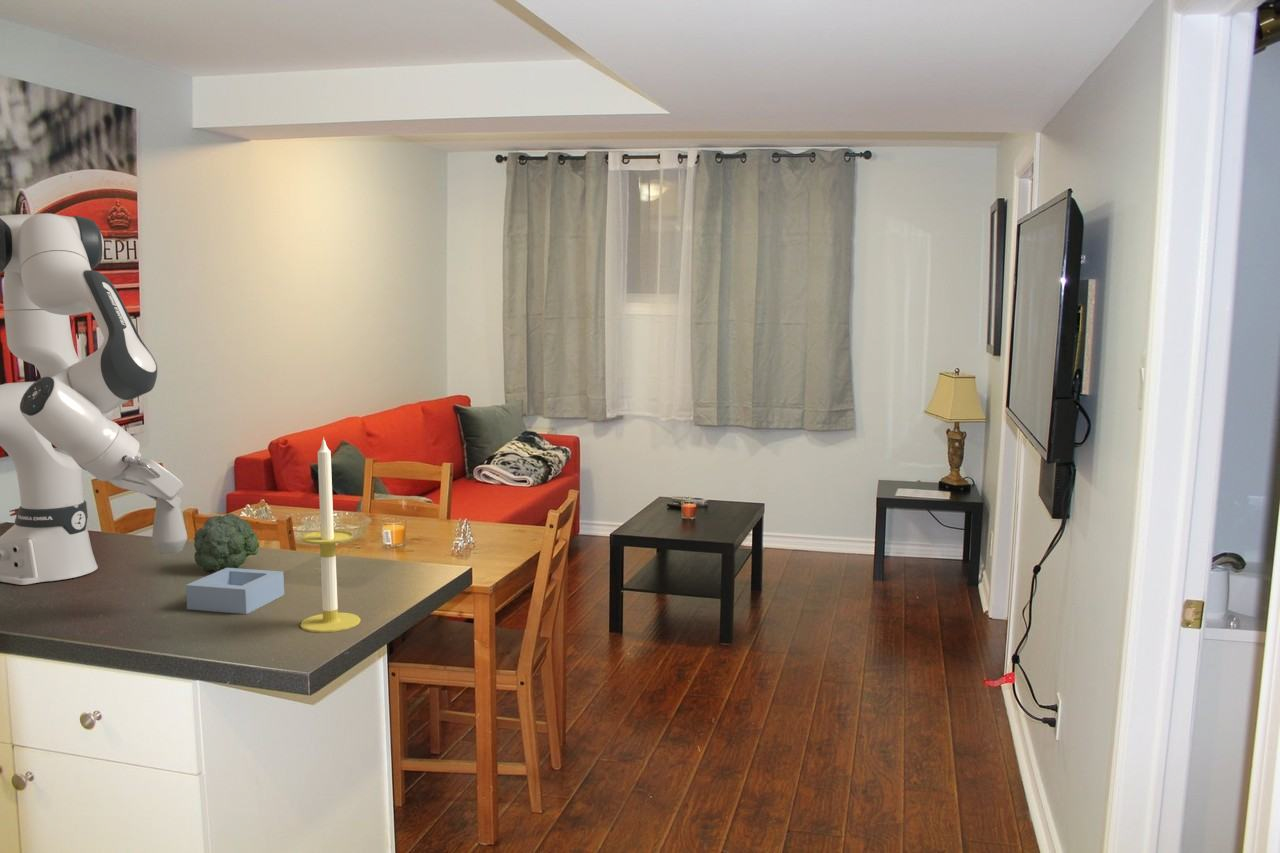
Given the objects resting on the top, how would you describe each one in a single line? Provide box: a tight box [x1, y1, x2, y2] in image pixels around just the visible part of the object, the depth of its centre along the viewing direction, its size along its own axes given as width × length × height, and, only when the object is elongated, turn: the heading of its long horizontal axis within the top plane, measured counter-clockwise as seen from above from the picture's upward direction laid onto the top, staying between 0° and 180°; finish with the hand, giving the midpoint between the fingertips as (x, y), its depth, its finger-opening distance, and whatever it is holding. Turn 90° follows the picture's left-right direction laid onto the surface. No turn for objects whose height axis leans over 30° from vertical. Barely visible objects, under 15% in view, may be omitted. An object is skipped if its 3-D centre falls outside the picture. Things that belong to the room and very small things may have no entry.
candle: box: [300, 436, 361, 634], centre depth 175 cm, size 10×10×32 cm
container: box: [185, 567, 285, 615], centre depth 189 cm, size 12×12×4 cm
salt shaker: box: [151, 497, 188, 555], centre depth 182 cm, size 6×6×13 cm
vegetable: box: [193, 513, 260, 573], centre depth 212 cm, size 12×13×15 cm
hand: (171, 502), depth 183 cm, fingers closed on salt shaker, 3 cm apart
